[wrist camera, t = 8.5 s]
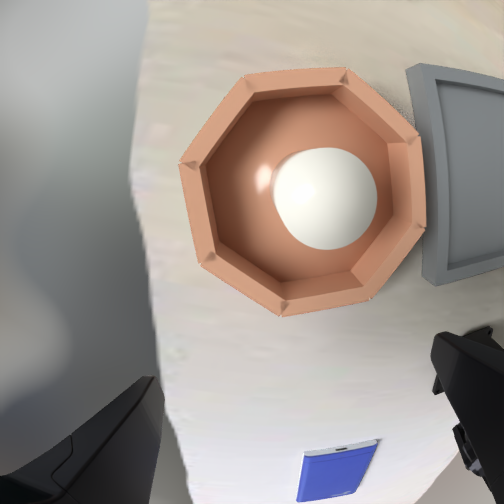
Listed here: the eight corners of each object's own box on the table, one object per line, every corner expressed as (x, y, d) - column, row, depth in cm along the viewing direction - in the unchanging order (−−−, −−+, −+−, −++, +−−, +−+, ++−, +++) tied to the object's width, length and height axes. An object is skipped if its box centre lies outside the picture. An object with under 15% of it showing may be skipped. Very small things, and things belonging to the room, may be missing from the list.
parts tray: (531, 246, 20) (544, 252, 18) (421, 276, 20) (435, 286, 18) (525, 92, 15) (539, 91, 13) (405, 69, 16) (419, 63, 14)
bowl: (400, 268, 20) (423, 287, 17) (218, 300, 20) (213, 326, 17) (383, 81, 16) (408, 69, 13) (180, 102, 16) (166, 90, 13)
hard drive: (356, 493, 29) (378, 445, 25) (296, 503, 29) (304, 458, 25) (353, 484, 30) (374, 435, 27) (295, 494, 30) (302, 447, 26)
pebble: (346, 218, 18) (379, 241, 13) (275, 230, 18) (285, 257, 13) (338, 146, 16) (371, 143, 12) (263, 155, 17) (270, 154, 12)
